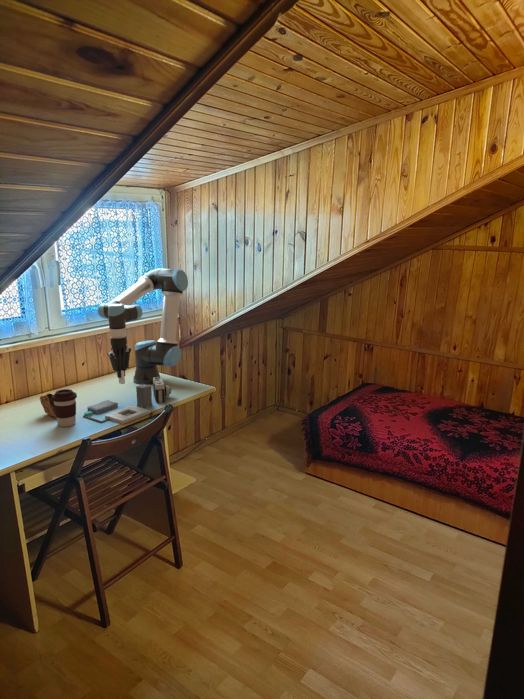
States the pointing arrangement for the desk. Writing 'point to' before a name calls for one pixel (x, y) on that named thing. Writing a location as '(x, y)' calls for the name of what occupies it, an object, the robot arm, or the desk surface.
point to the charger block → (144, 395)
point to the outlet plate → (127, 414)
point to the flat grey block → (102, 407)
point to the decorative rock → (48, 404)
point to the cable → (93, 418)
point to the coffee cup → (65, 407)
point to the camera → (160, 390)
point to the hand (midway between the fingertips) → (122, 383)
